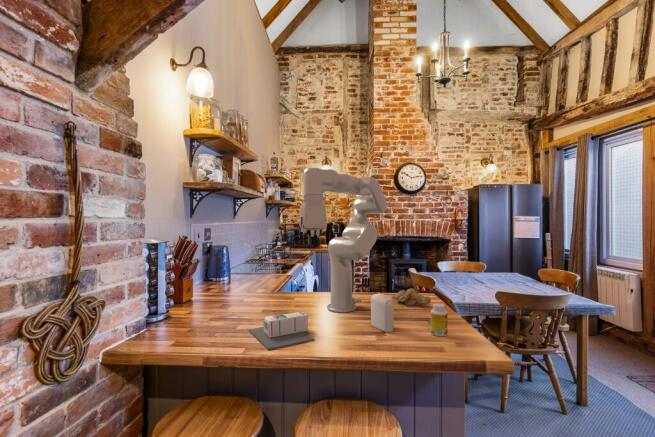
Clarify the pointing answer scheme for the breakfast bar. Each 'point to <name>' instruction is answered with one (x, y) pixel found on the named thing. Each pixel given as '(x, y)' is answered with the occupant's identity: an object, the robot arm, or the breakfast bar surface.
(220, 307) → the breakfast bar surface
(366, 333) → the breakfast bar surface
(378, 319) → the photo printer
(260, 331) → the mat
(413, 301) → the ginger root
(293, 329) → the syrup box
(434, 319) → the supplement bottle
